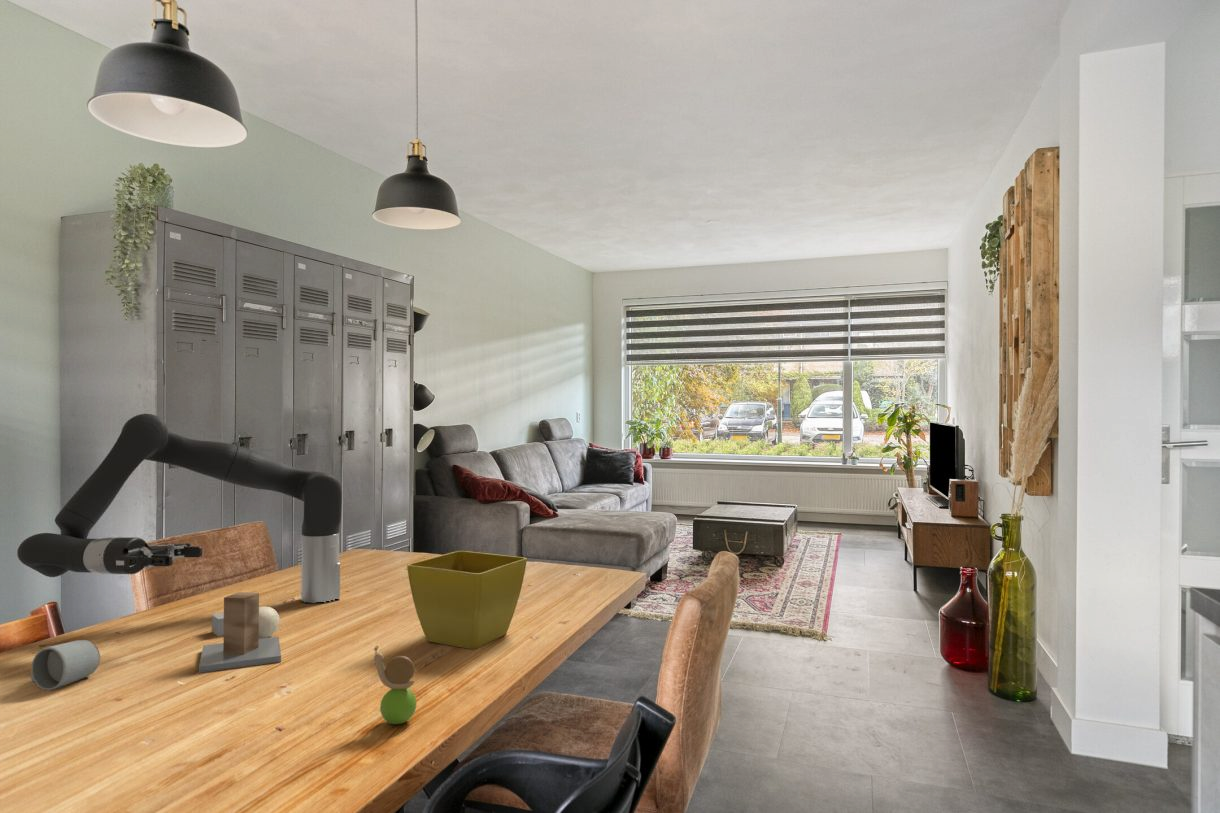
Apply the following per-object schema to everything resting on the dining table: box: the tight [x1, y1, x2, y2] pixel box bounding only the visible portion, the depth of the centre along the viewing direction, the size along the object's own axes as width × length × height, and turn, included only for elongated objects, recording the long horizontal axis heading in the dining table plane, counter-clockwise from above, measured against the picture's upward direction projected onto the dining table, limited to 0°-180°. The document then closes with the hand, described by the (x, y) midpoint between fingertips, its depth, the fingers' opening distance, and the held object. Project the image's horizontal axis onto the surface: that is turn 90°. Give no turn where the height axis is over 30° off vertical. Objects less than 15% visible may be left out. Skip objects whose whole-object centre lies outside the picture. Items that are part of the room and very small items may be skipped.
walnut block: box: [222, 591, 260, 655], centre depth 145 cm, size 4×4×11 cm
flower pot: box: [406, 550, 527, 650], centre depth 157 cm, size 19×19×17 cm
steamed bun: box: [259, 606, 281, 639], centre depth 157 cm, size 7×7×7 cm
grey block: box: [211, 612, 224, 638], centre depth 161 cm, size 5×5×4 cm
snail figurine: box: [373, 645, 417, 725], centre depth 113 cm, size 5×6×12 cm
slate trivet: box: [198, 636, 282, 674], centre depth 145 cm, size 14×14×1 cm
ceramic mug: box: [29, 639, 101, 691], centre depth 131 cm, size 10×8×7 cm
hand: (186, 556), depth 149 cm, fingers open, 8 cm apart
